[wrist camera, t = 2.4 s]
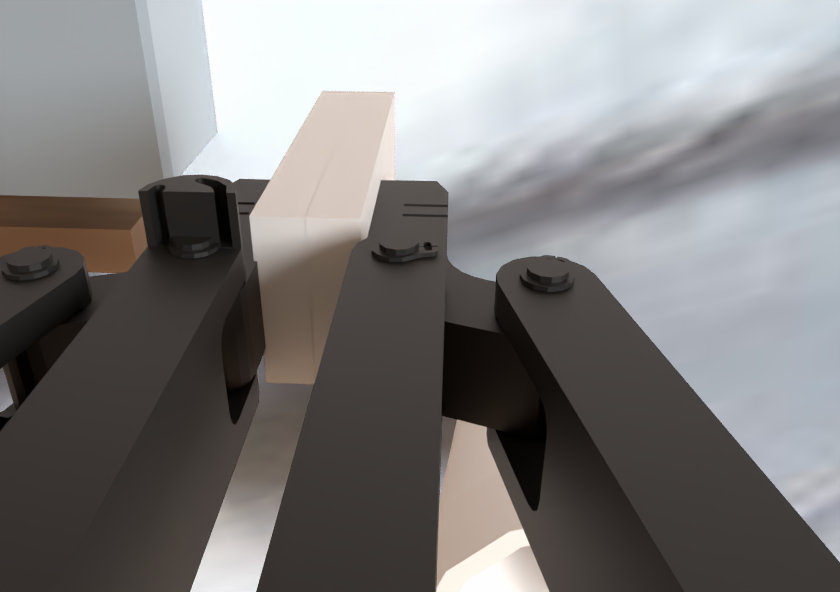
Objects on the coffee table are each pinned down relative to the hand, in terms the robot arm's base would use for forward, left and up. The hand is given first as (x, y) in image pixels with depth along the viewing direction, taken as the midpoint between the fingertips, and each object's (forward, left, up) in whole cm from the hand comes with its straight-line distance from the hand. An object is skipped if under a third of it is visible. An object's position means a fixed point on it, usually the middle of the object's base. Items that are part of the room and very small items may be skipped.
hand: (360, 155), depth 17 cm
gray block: (0, -10, -11) cm, 15 cm away
